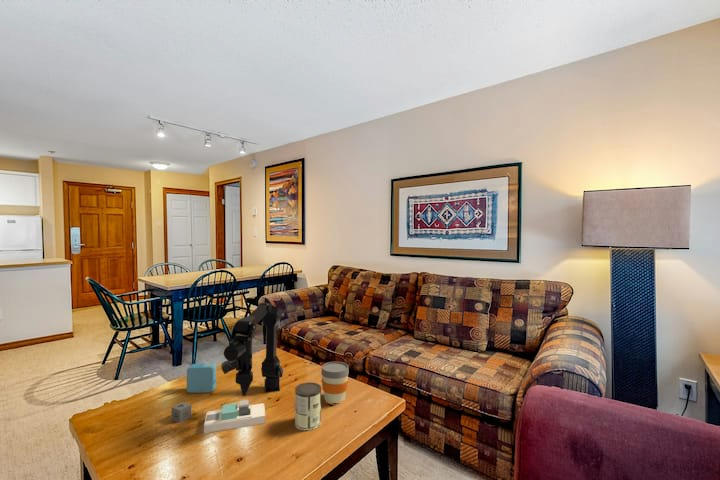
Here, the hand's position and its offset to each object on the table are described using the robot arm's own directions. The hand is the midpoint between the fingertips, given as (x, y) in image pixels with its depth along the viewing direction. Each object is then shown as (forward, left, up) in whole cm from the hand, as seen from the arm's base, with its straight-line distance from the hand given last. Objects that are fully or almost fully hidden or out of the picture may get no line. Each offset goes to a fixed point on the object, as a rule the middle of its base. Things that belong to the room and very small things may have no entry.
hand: (244, 390), depth 132 cm
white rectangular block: (0, 0, -11) cm, 11 cm away
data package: (+19, -32, -12) cm, 39 cm away
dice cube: (+24, -9, -12) cm, 28 cm away
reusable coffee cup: (-39, -5, -12) cm, 41 cm away
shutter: (+5, 0, -9) cm, 10 cm away
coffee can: (-24, +10, -12) cm, 29 cm away
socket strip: (+3, 0, -12) cm, 12 cm away
